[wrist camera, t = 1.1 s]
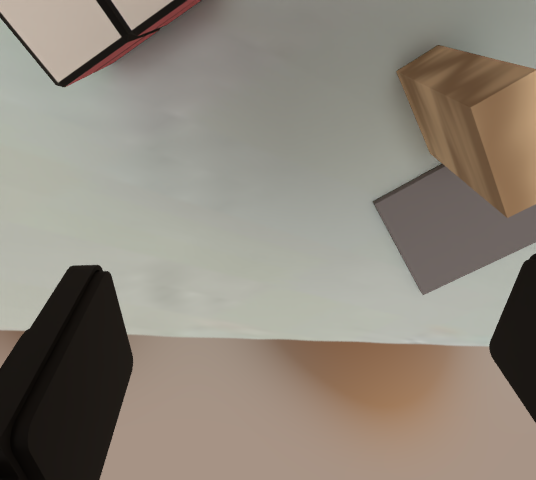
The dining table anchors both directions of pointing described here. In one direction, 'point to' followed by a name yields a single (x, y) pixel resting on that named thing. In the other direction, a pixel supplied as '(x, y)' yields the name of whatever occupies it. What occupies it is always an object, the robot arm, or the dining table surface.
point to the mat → (450, 228)
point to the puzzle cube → (85, 31)
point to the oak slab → (478, 122)
